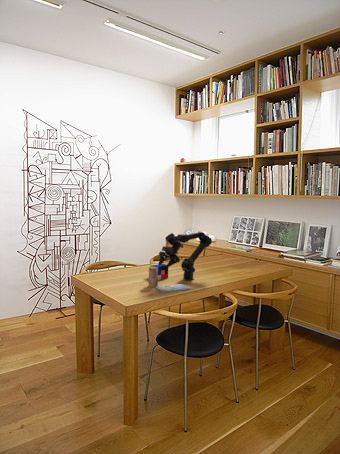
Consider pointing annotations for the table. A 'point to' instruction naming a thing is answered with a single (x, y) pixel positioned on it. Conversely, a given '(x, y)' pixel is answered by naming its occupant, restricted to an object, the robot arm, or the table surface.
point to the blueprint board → (176, 287)
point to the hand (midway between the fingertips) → (162, 266)
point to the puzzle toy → (161, 270)
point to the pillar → (153, 276)
